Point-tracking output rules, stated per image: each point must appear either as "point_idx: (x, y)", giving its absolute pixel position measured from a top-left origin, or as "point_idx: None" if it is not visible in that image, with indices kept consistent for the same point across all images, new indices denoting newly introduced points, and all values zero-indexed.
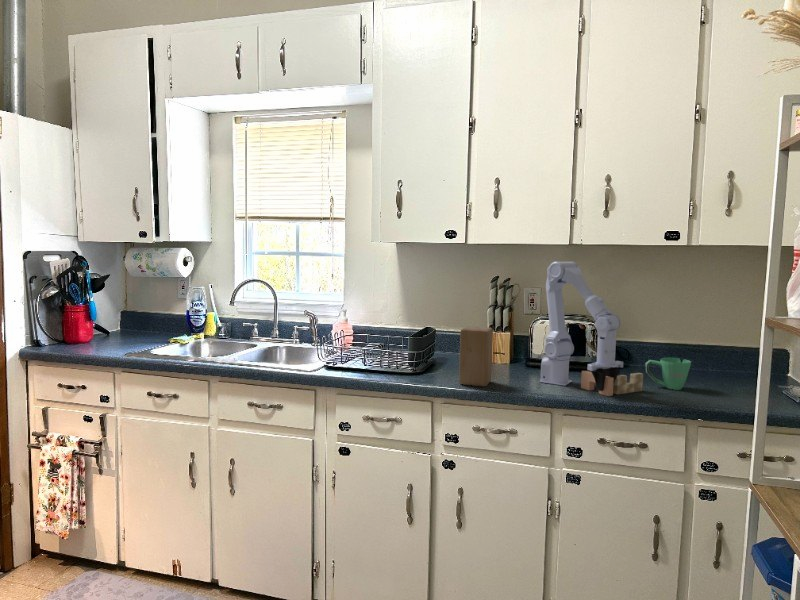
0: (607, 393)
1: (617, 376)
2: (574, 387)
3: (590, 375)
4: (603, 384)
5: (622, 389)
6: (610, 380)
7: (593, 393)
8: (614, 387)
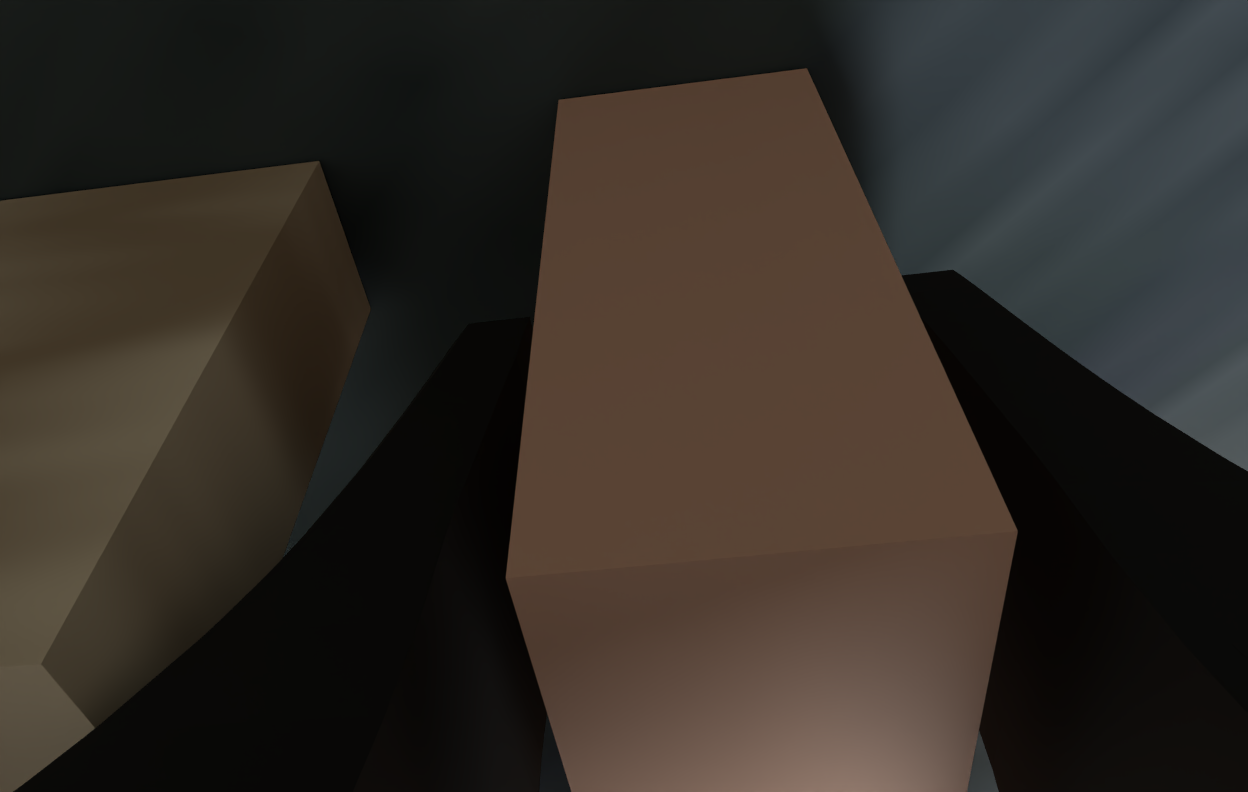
0: (824, 108)
1: (43, 727)
2: None
3: None
4: (1033, 391)
5: (28, 263)
6: (775, 437)
7: None
8: (313, 388)
